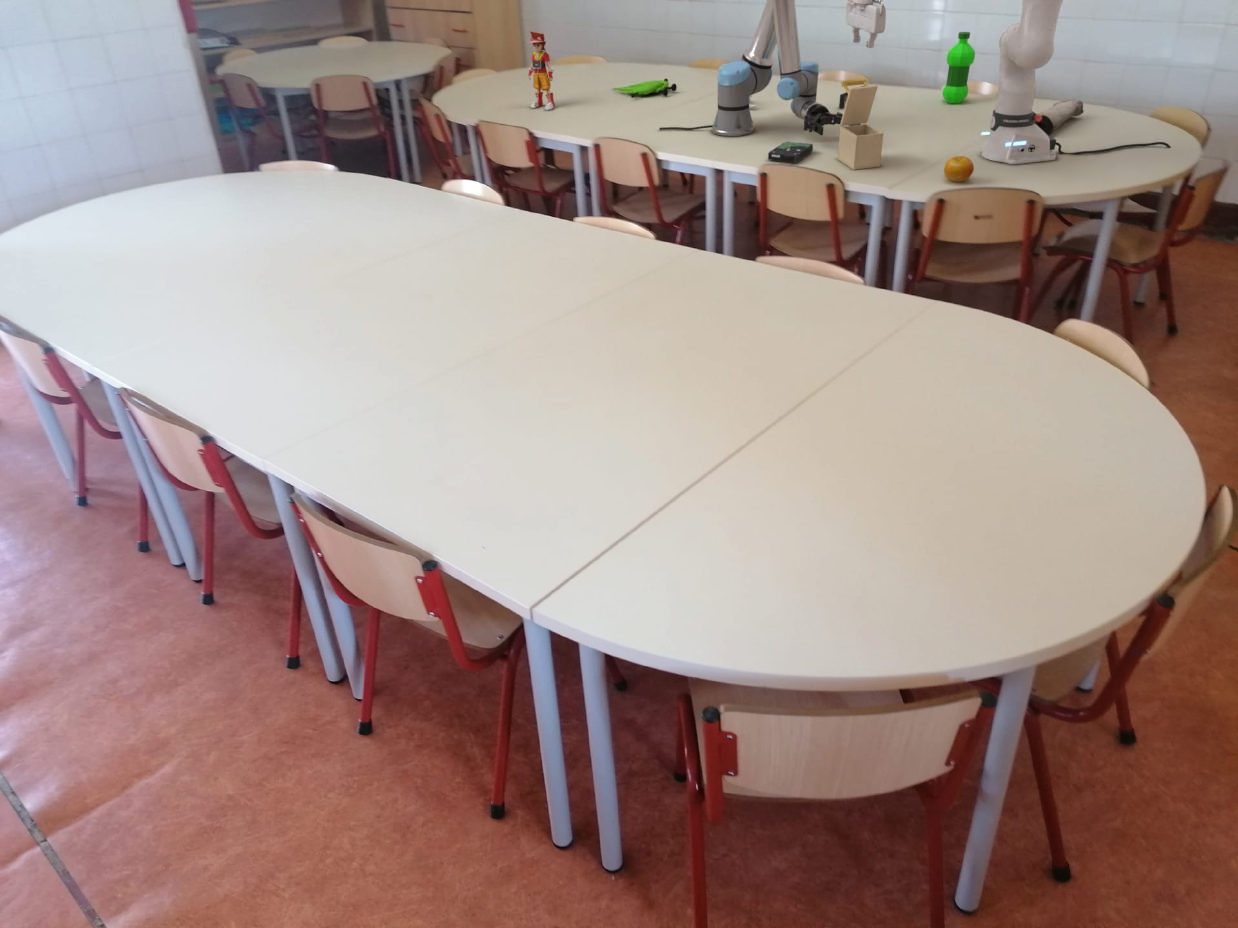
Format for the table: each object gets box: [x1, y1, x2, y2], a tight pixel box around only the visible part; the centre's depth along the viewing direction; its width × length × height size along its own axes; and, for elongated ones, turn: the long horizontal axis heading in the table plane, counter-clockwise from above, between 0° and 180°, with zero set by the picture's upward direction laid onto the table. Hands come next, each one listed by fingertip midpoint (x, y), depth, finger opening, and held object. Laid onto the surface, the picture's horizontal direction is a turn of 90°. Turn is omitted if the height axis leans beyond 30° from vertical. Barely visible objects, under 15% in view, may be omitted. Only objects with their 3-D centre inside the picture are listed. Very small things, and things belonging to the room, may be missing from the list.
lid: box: [839, 78, 879, 127], centre depth 293 cm, size 13×9×9 cm
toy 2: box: [612, 78, 677, 99], centre depth 396 cm, size 28×5×30 cm
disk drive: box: [767, 141, 814, 164], centre depth 306 cm, size 10×3×15 cm
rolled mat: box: [1035, 99, 1084, 136], centre depth 319 cm, size 30×9×10 cm
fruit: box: [943, 155, 975, 183], centre depth 275 cm, size 8×8×8 cm
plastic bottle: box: [942, 31, 976, 104], centre depth 348 cm, size 10×10×25 cm
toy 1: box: [527, 31, 556, 111], centre depth 374 cm, size 12×9×30 cm
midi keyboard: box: [838, 85, 864, 109], centre depth 359 cm, size 18×1×5 cm, turn 138°
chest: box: [837, 123, 884, 171], centre depth 294 cm, size 13×9×10 cm
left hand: (840, 129), depth 306 cm, fingers open, 13 cm apart
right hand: (863, 45), depth 281 cm, fingers open, 8 cm apart
